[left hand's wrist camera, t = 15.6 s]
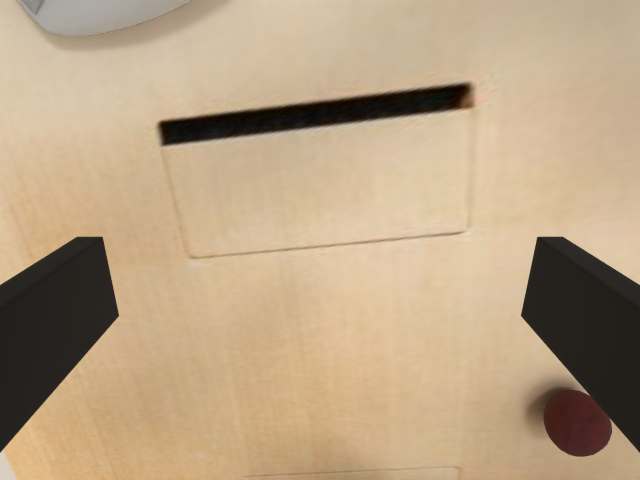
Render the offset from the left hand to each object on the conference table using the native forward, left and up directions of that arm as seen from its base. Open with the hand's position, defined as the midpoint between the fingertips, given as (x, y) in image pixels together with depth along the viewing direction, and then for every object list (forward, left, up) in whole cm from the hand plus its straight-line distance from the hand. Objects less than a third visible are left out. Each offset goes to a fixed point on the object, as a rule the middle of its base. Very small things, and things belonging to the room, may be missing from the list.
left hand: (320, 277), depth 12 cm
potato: (+13, +45, -31) cm, 57 cm away
